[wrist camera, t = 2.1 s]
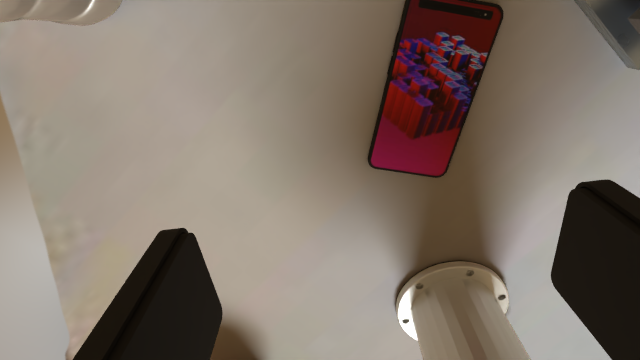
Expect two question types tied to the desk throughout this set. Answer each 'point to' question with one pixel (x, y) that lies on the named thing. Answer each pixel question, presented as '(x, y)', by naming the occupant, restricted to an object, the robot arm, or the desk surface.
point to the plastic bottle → (58, 10)
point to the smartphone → (432, 83)
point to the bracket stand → (617, 26)
